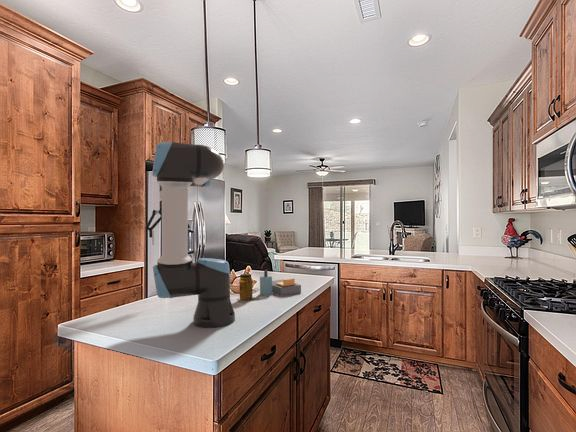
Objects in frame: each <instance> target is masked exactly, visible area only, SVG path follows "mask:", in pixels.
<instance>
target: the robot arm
mask: <svg viewBox="0 0 576 432" xmlns="http://www.w3.org/2000/svg"><path fill="white" fill-rule="evenodd" d="M224 166H225V165H224V160H223V158H222V156H221V154H220V153H219V152H218V151H216V150H215V149H214V148H212V147H209V146H208V145H204V144H193V143H185V142H184V143H183V142H174V141H165V142H164V141H160V142H158V143H157V144H156V146H155V151H154V159H153V165H152V174H151V175H152V177H155V178H156V183H157V184H159V186H158V187H159V209H158V210H155V209H153V210H152V214H151V217H150V218H149V220H148V222H147V223H146V226H145V228H144V229H145V230H146V231H148V232H149V238H151V245H154V246H155V230H154V229H155V227H156V226H157V225H158V224H159V223H160V222H161V256H160V257H159V258H157V264H155V265H153V266H152V270H153V277H154V284H155V291H156V295H157V297H158V298H160V299H173V298H180V297H191V296H197V304H196V307H195V311H194V313H193V320H192V321H193V322H192V323H193V324H194V326H196V327H199V328H200V327H201V328H217V327H224V326H227V325H230V324H233V323H234V322H235V319H236V314H235V310H234V307H233V305H232V301H231V282H230V280H231V279H230V277H231V269H230V264H229V262H228V261H227V260H225V259H219V258H211V257H202V258H201V257H199V258H198V259H197V260H196V262H193V258H192V257H191V256H190V255H189V254H188V252H189V248H188V247H189V245H188V243H189V242H188V241H189V240H188V239H189V238H188V236H189V235H188V234H189V229H190V228H191V226H190V223H189V211H188V209H189V208H188V207H189V187H201V188H204V187H207V188H208V187H210V186H211V185H210V184H211V180H212V179H215V178H218V177H219V176H220V175H221V174H222V172H223V171H224ZM156 215H159V218H158V219H157V220H156V221H155V222H154V223H153V224H152V226H151V223H152V222H153V220H154V218H155V216H156Z"/></svg>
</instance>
